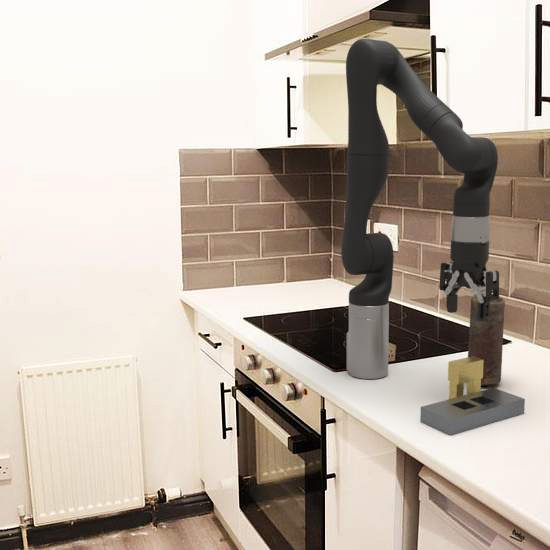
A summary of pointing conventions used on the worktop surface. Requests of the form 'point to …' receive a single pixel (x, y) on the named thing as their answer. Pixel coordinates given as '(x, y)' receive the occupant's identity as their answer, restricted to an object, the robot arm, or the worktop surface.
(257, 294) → the worktop surface
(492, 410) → the grey slotted base
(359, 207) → the robot arm
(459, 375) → the yellow block
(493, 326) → the brown cylinder
